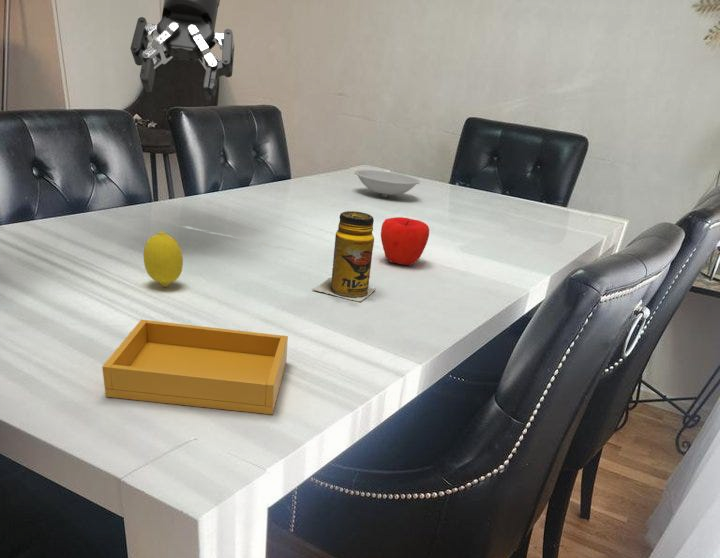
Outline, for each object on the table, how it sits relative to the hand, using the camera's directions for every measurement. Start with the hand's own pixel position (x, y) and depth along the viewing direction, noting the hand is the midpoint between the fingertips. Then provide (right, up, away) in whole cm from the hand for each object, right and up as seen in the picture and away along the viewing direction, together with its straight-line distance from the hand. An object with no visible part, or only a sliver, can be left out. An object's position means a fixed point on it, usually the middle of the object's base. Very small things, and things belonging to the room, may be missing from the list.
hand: (177, 91), depth 93 cm
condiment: (+24, -25, +13) cm, 37 cm away
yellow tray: (+8, -44, -19) cm, 49 cm away
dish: (+33, +20, +81) cm, 89 cm away
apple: (+34, -15, +30) cm, 48 cm away
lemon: (-3, -27, +5) cm, 28 cm away
